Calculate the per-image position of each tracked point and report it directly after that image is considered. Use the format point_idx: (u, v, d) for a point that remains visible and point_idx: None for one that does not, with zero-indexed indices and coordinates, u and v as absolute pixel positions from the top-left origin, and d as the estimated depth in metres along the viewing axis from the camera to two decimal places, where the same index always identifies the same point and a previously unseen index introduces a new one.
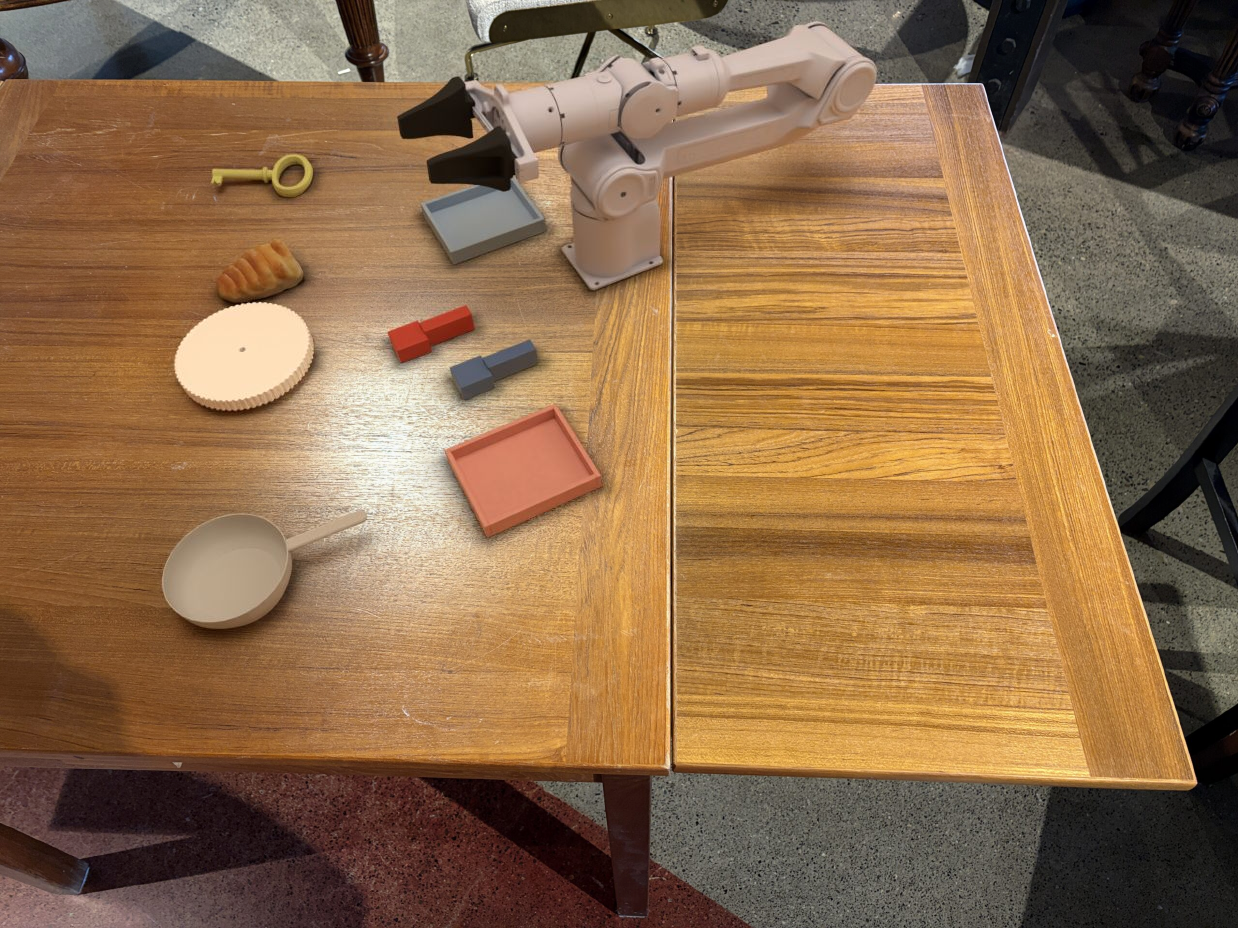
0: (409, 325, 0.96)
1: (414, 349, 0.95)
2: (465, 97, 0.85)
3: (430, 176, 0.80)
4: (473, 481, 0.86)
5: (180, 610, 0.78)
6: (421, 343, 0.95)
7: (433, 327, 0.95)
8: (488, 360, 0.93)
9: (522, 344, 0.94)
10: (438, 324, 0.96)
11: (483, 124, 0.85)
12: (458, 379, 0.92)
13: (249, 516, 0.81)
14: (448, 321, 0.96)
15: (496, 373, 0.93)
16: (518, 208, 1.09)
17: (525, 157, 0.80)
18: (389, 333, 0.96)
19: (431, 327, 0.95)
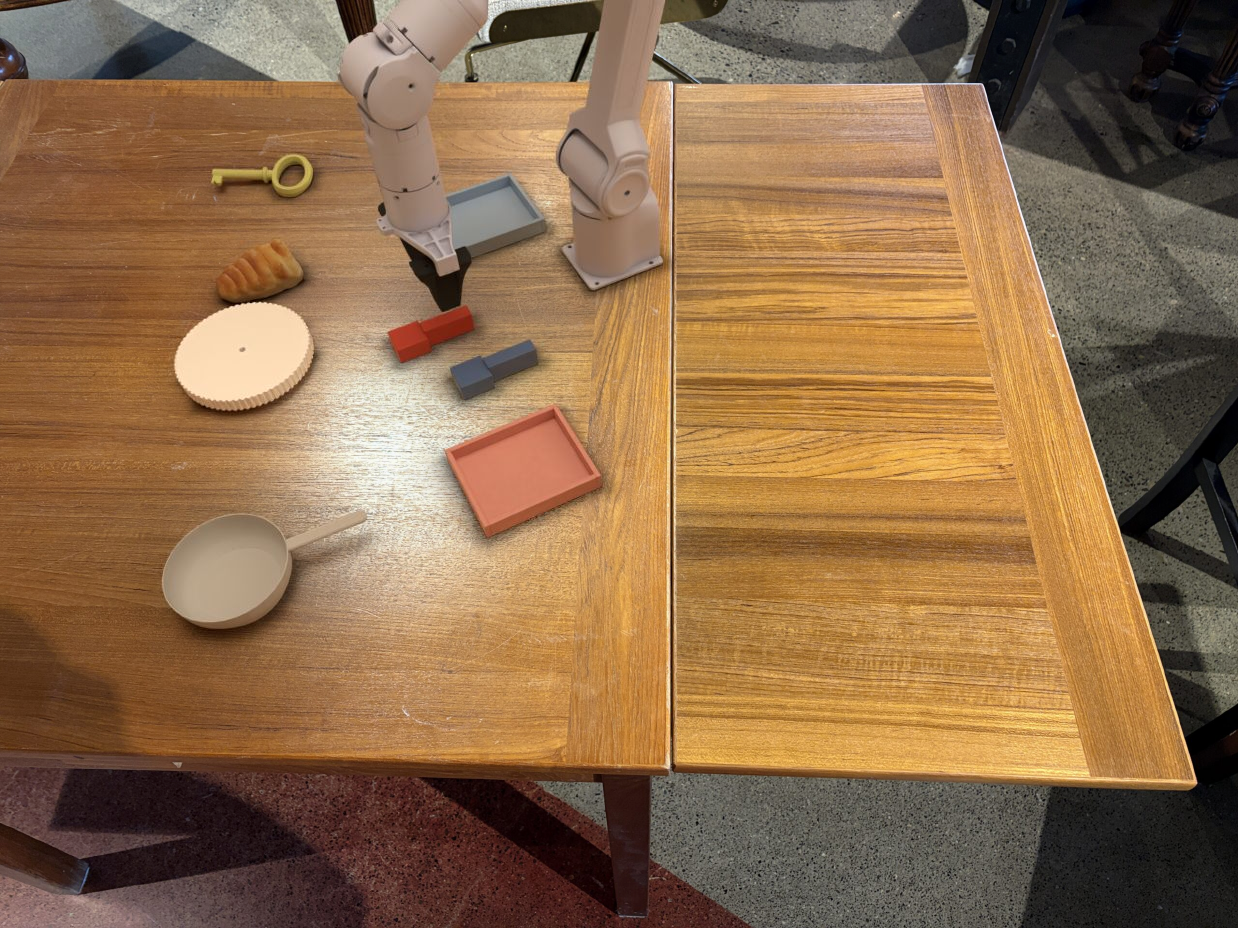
0: (409, 325, 0.96)
1: (414, 349, 0.95)
2: None
3: None
4: (473, 481, 0.86)
5: (180, 610, 0.78)
6: (421, 343, 0.95)
7: (433, 327, 0.95)
8: (488, 360, 0.93)
9: (522, 344, 0.94)
10: (438, 324, 0.96)
11: None
12: (458, 379, 0.92)
13: (249, 516, 0.81)
14: (448, 321, 0.96)
15: (496, 373, 0.93)
16: (518, 208, 1.09)
17: (435, 264, 0.82)
18: (389, 333, 0.96)
19: (431, 327, 0.95)
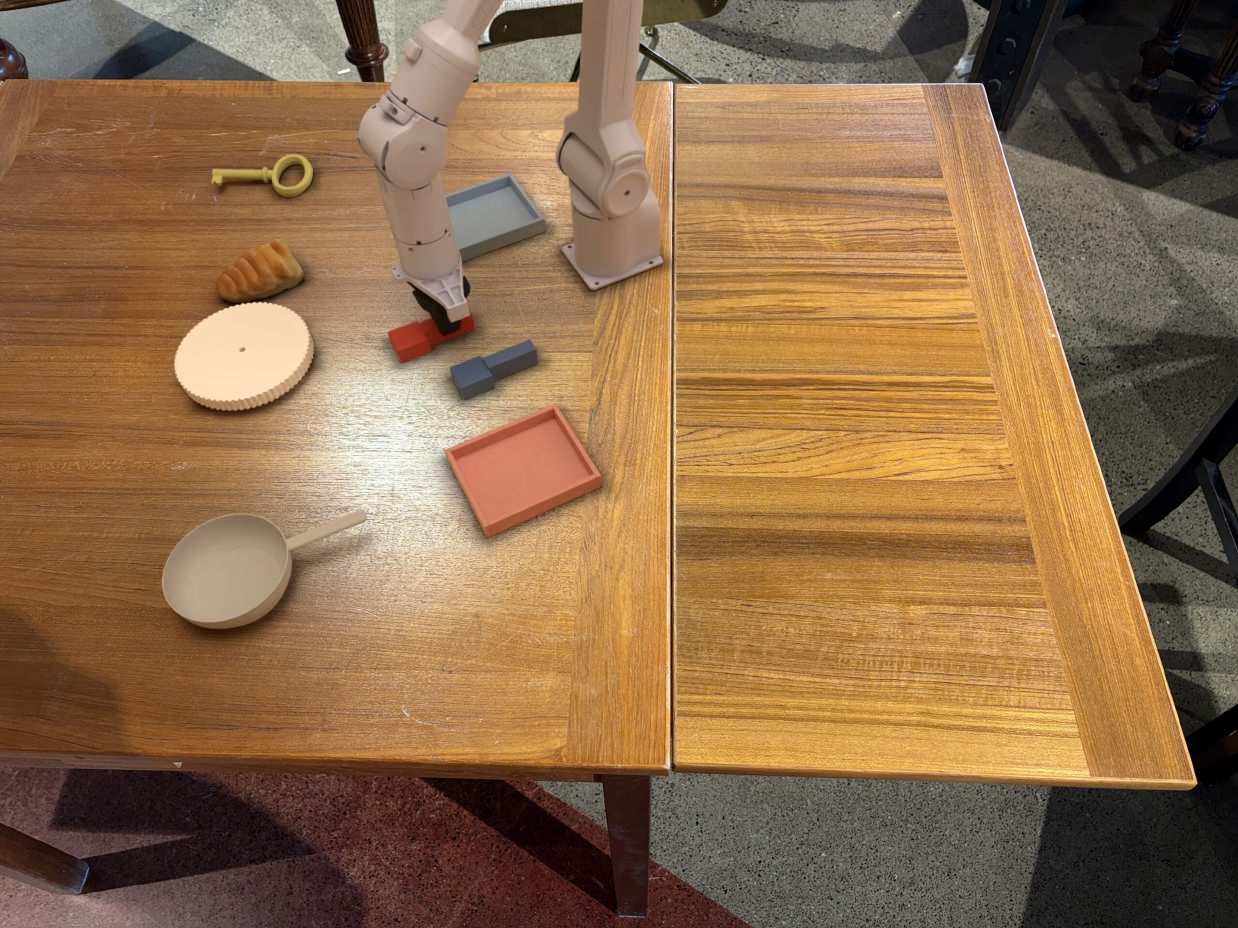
0: (409, 325, 0.96)
1: (414, 349, 0.95)
2: None
3: (453, 331, 0.96)
4: (473, 481, 0.86)
5: (180, 610, 0.78)
6: (422, 343, 0.95)
7: (433, 327, 0.95)
8: (488, 360, 0.93)
9: (522, 344, 0.94)
10: None
11: None
12: (458, 379, 0.92)
13: (249, 516, 0.81)
14: None
15: (496, 373, 0.93)
16: (518, 208, 1.09)
17: (446, 311, 0.87)
18: (389, 333, 0.96)
19: (431, 327, 0.95)
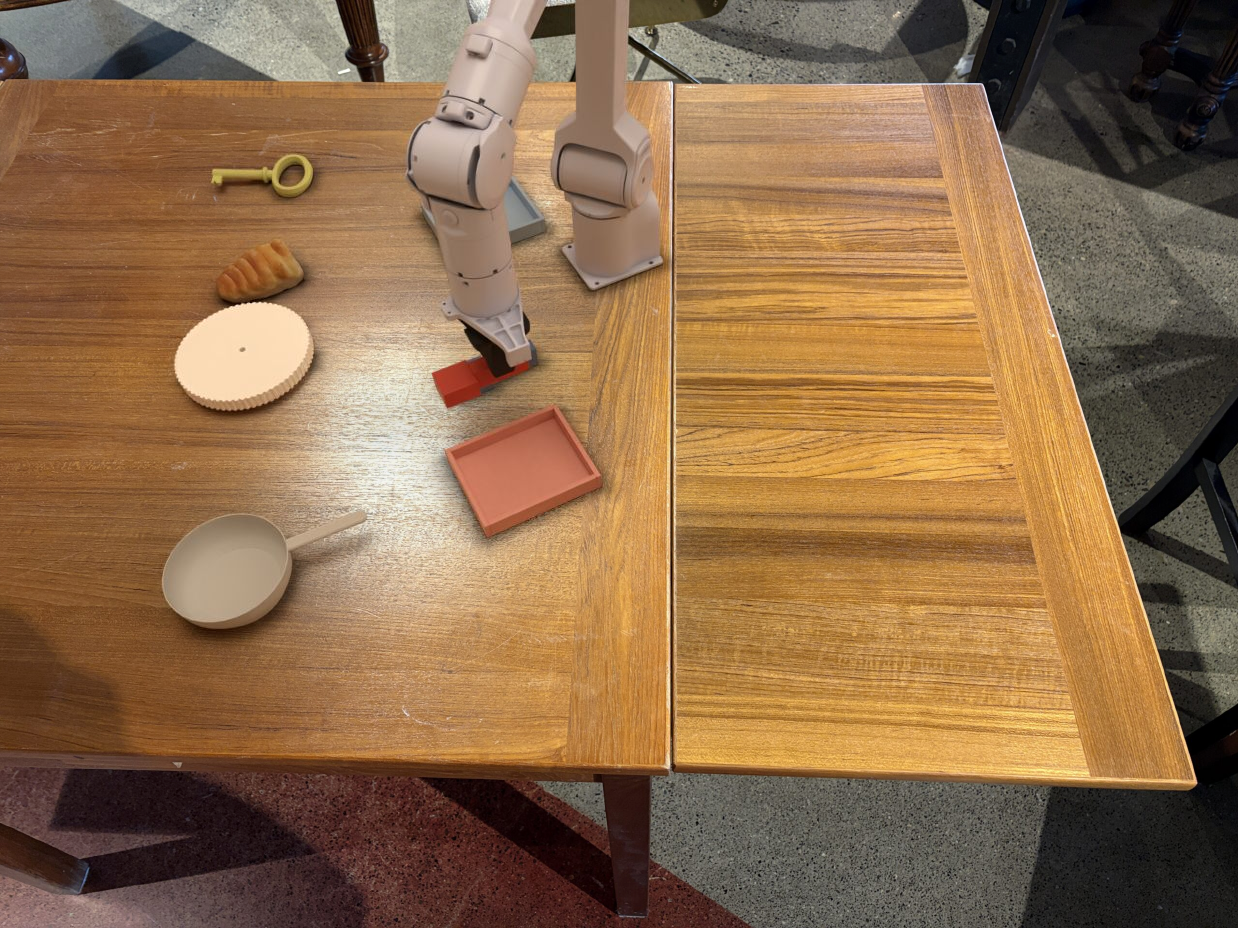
0: (456, 365, 0.85)
1: (462, 393, 0.84)
2: None
3: None
4: (473, 481, 0.86)
5: (180, 610, 0.78)
6: (471, 386, 0.83)
7: (484, 368, 0.84)
8: None
9: None
10: None
11: None
12: None
13: (249, 516, 0.81)
14: None
15: None
16: (518, 208, 1.09)
17: (505, 354, 0.75)
18: (434, 374, 0.84)
19: (481, 368, 0.84)
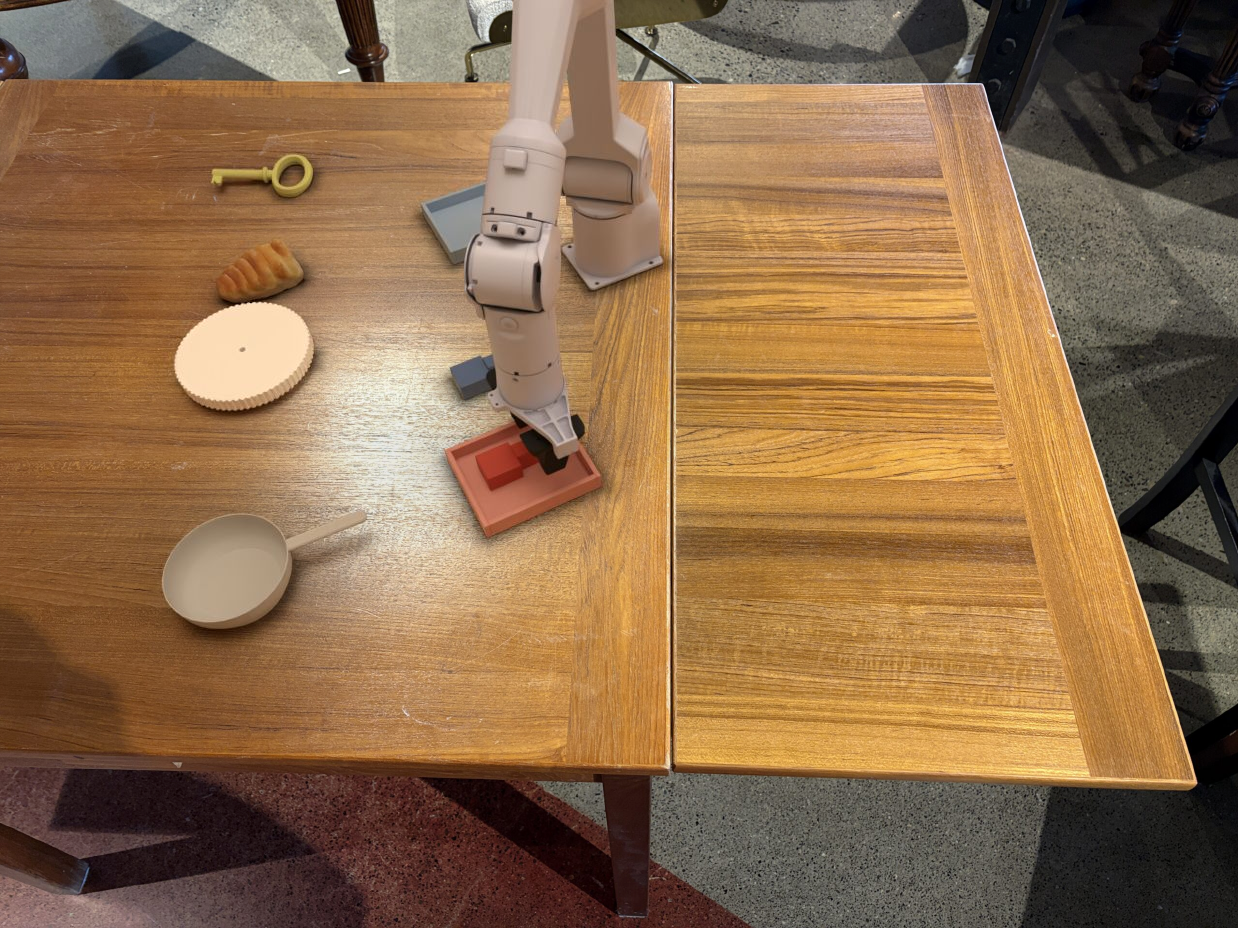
0: (499, 448, 0.86)
1: (506, 476, 0.85)
2: None
3: None
4: (473, 481, 0.86)
5: (180, 610, 0.78)
6: (514, 469, 0.85)
7: (527, 451, 0.85)
8: (488, 360, 0.93)
9: None
10: None
11: None
12: (458, 379, 0.92)
13: (249, 516, 0.81)
14: None
15: None
16: None
17: (553, 447, 0.76)
18: (477, 457, 0.85)
19: (524, 451, 0.85)
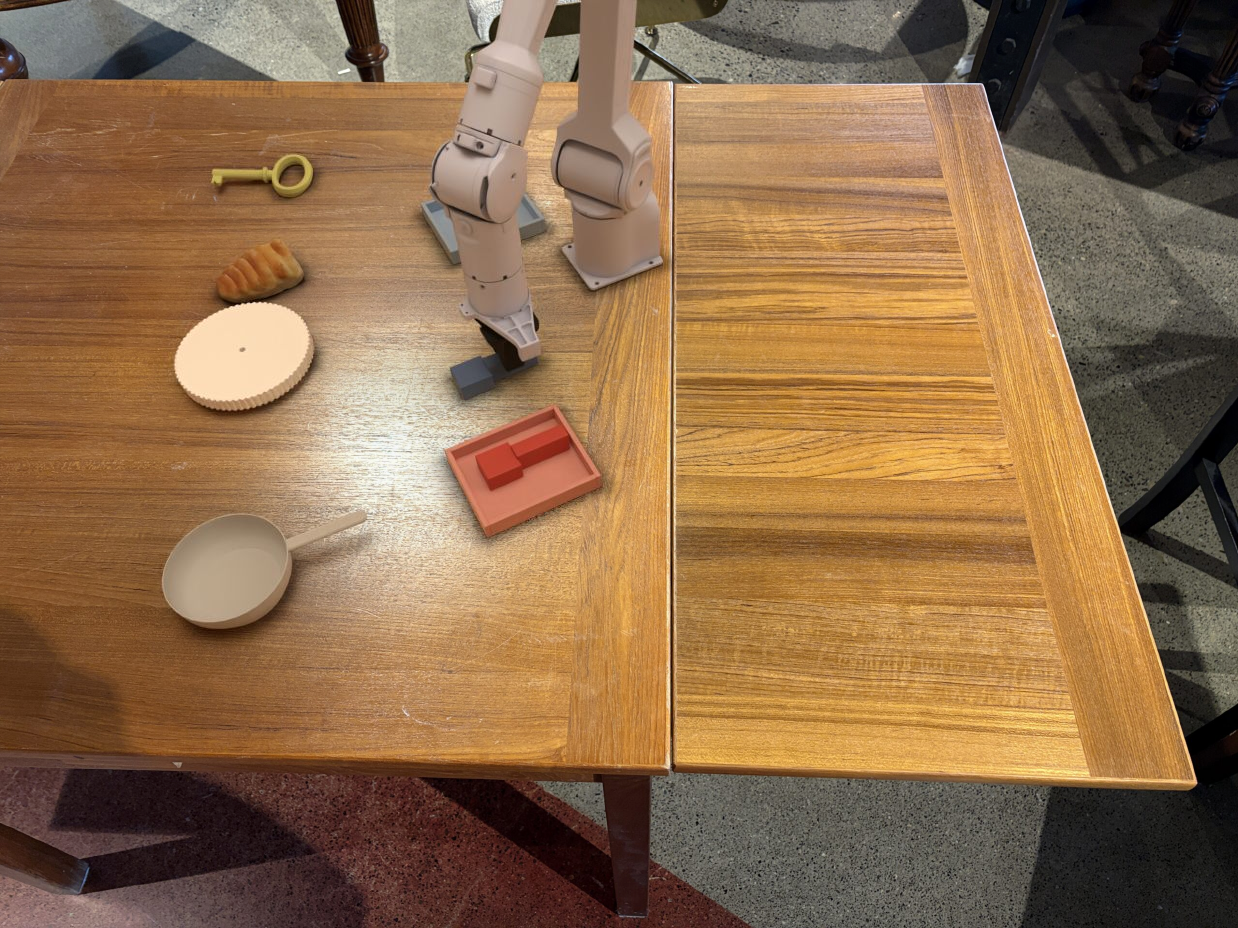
0: (499, 448, 0.86)
1: (506, 476, 0.85)
2: None
3: None
4: (473, 481, 0.86)
5: (180, 610, 0.78)
6: (514, 469, 0.85)
7: (527, 451, 0.85)
8: (488, 360, 0.93)
9: None
10: (532, 448, 0.85)
11: None
12: (458, 380, 0.92)
13: (249, 516, 0.81)
14: (543, 443, 0.86)
15: (496, 373, 0.93)
16: (518, 208, 1.09)
17: (518, 350, 0.83)
18: (477, 457, 0.85)
19: (524, 451, 0.85)
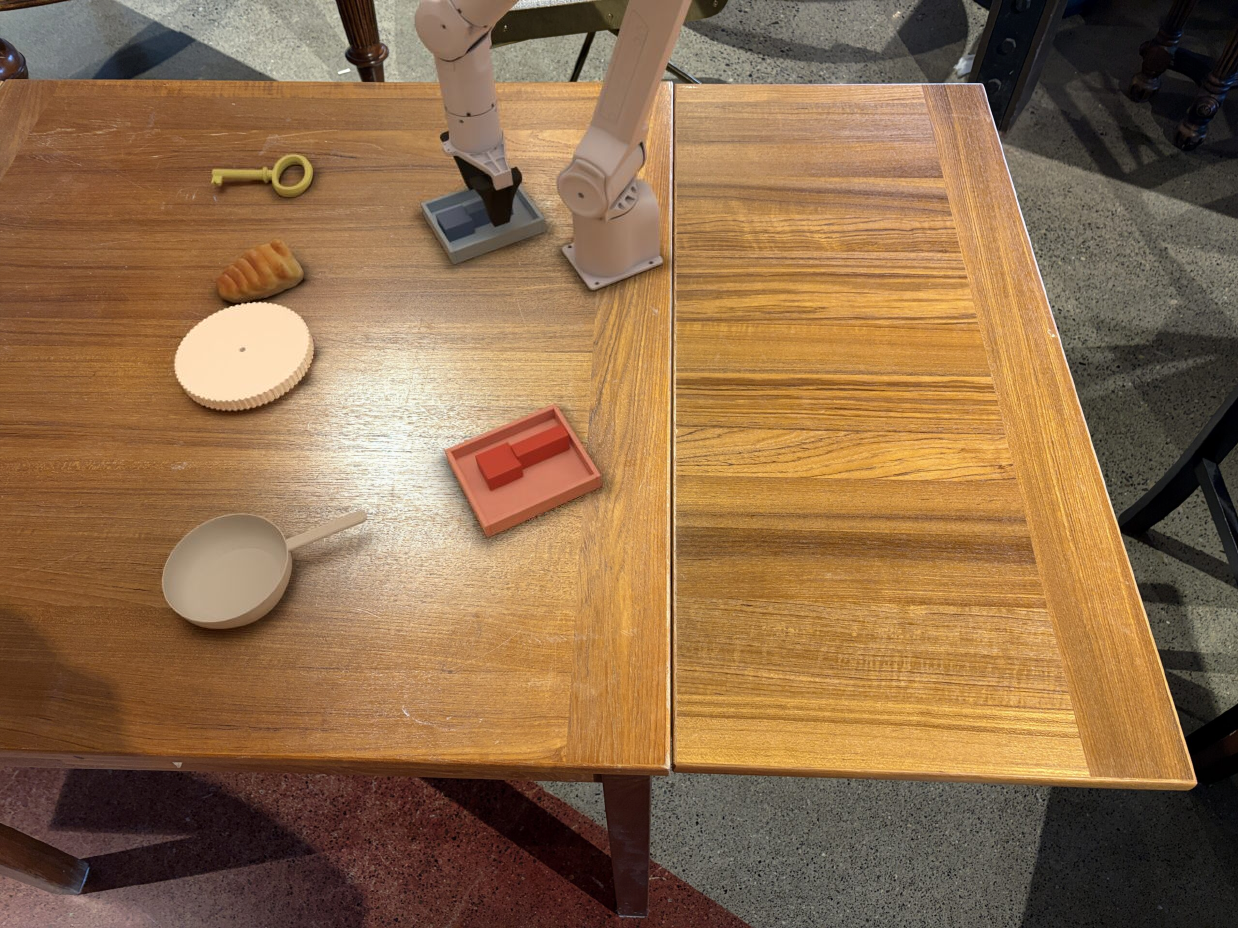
0: (499, 448, 0.86)
1: (506, 476, 0.85)
2: None
3: (504, 222, 1.05)
4: (473, 481, 0.86)
5: (180, 610, 0.78)
6: (514, 469, 0.85)
7: (527, 451, 0.85)
8: (469, 208, 1.06)
9: None
10: (532, 448, 0.85)
11: None
12: (442, 223, 1.05)
13: (249, 516, 0.81)
14: (543, 443, 0.86)
15: (476, 220, 1.07)
16: (518, 208, 1.09)
17: (492, 179, 0.96)
18: (477, 457, 0.85)
19: (524, 451, 0.85)
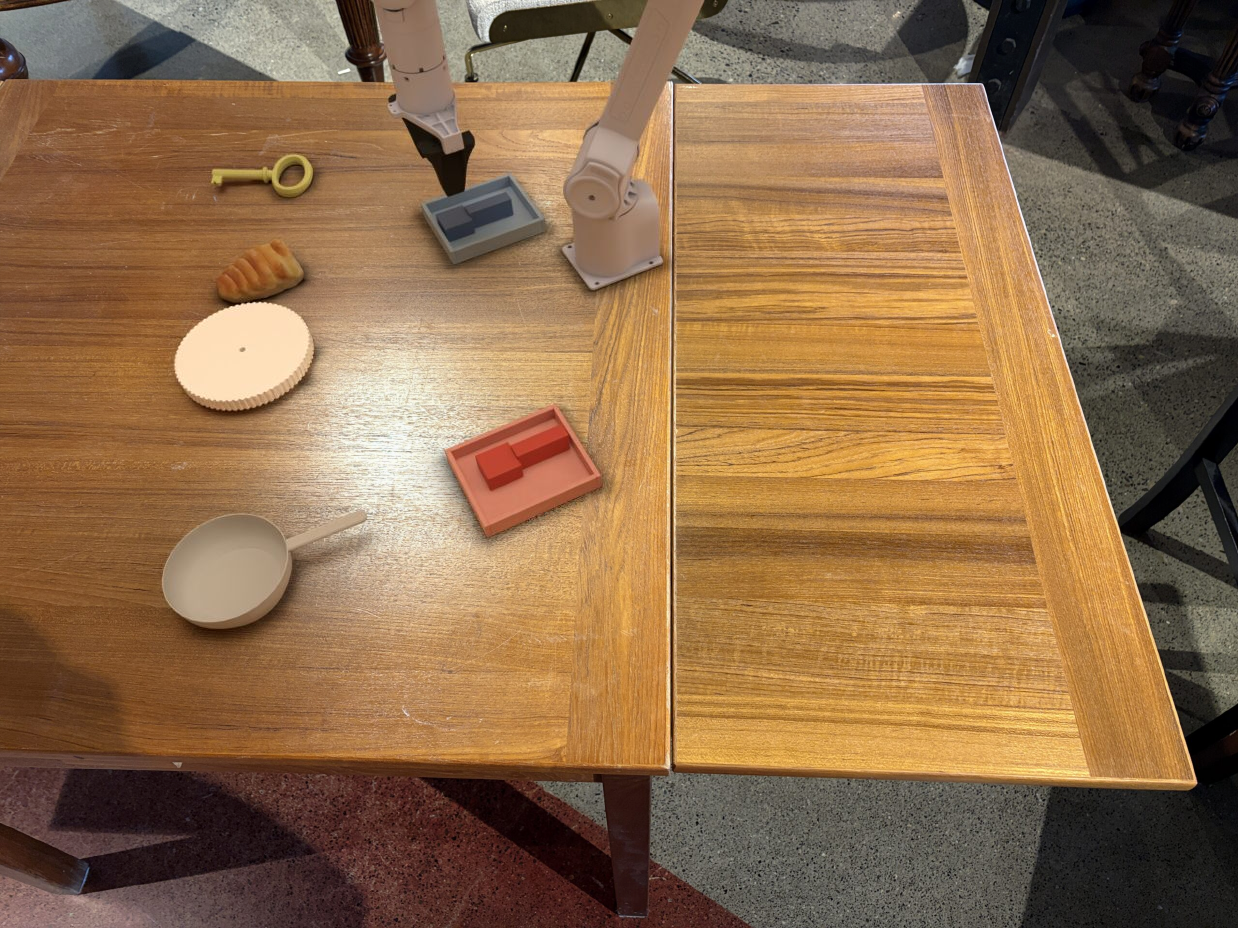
0: (499, 448, 0.86)
1: (506, 476, 0.85)
2: None
3: (458, 192, 0.97)
4: (473, 481, 0.86)
5: (180, 610, 0.78)
6: (514, 469, 0.85)
7: (527, 451, 0.85)
8: (469, 208, 1.06)
9: (499, 195, 1.07)
10: (532, 448, 0.85)
11: None
12: (442, 223, 1.05)
13: (249, 516, 0.81)
14: (543, 443, 0.86)
15: (476, 220, 1.07)
16: (518, 208, 1.09)
17: (441, 142, 0.89)
18: (477, 457, 0.85)
19: (524, 451, 0.85)
